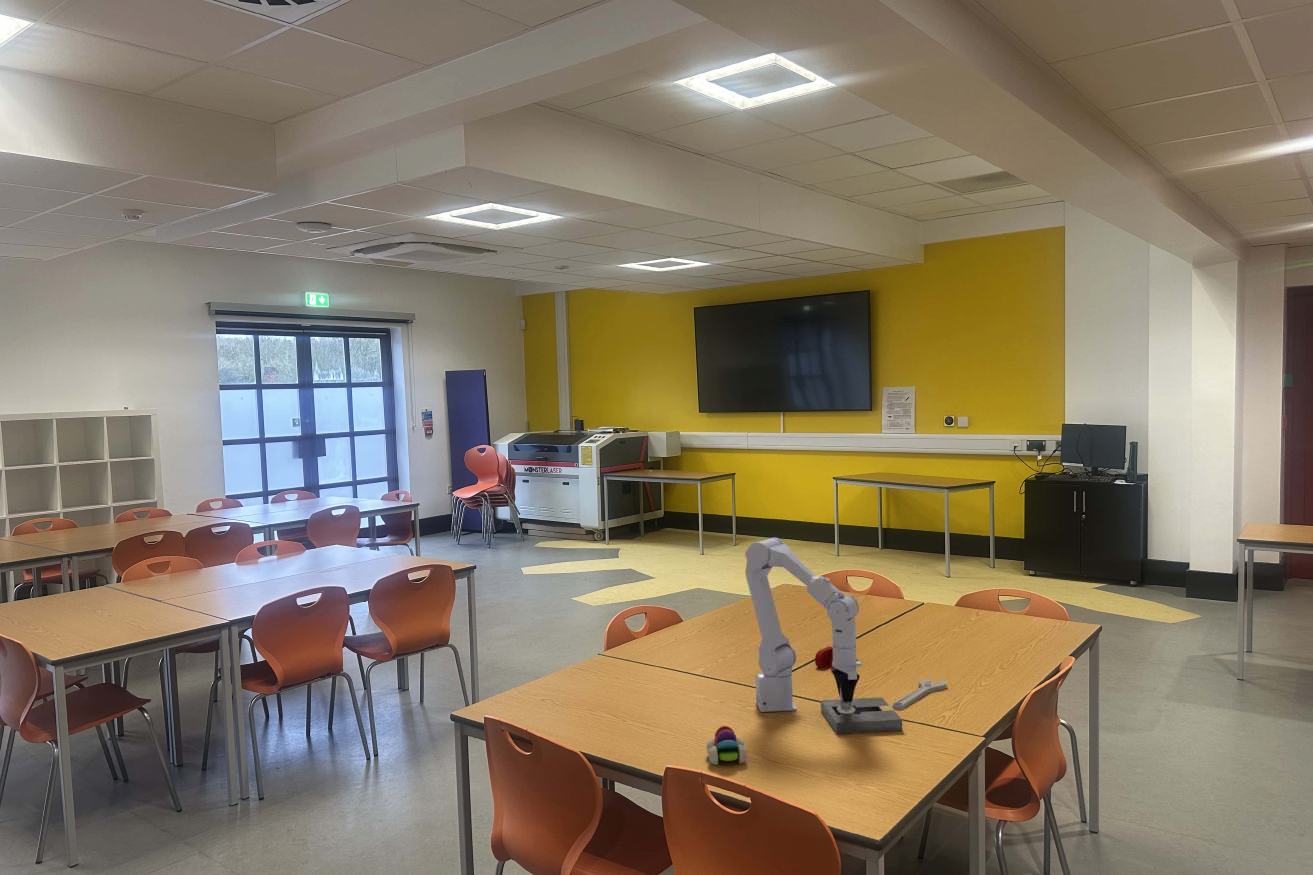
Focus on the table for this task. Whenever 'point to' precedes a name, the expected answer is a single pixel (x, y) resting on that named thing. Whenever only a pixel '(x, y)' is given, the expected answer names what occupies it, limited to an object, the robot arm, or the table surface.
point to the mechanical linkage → (824, 657)
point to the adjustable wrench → (919, 693)
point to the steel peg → (845, 707)
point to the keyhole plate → (862, 716)
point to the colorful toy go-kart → (726, 746)
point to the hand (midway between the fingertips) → (845, 699)
